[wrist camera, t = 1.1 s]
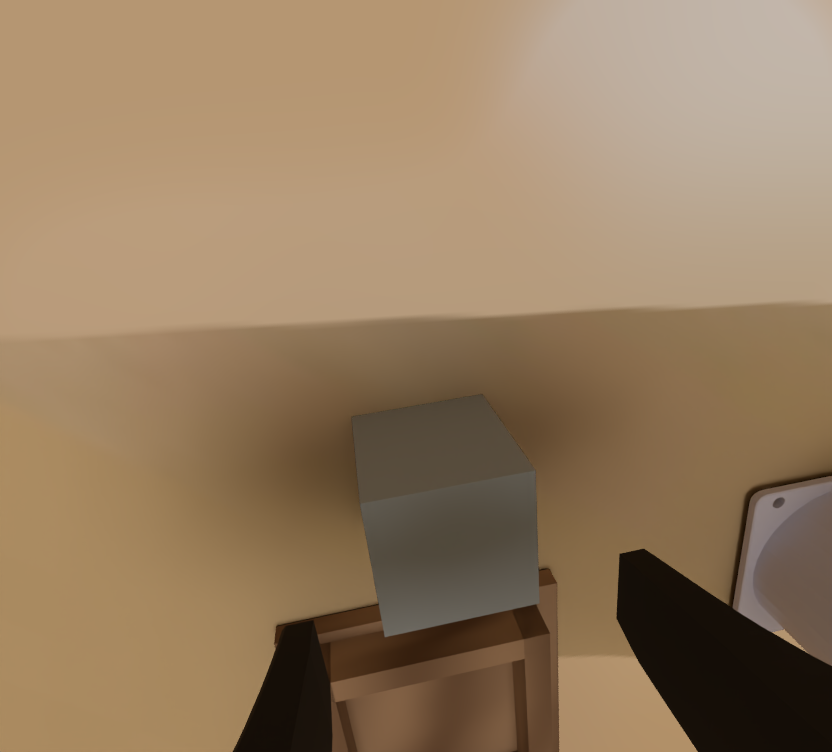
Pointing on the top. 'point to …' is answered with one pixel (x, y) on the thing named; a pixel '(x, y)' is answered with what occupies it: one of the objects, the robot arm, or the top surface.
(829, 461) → the top surface
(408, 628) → the slate block
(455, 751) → the slot rack
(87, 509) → the top surface
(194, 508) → the top surface
